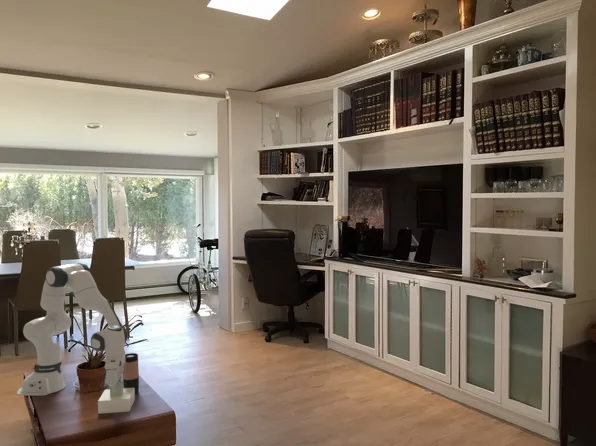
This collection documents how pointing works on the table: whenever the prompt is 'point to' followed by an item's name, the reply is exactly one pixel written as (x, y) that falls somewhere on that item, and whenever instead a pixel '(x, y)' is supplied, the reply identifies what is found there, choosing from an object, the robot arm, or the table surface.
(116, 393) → the sage cube
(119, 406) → the box
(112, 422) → the table surface
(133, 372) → the travel mug
